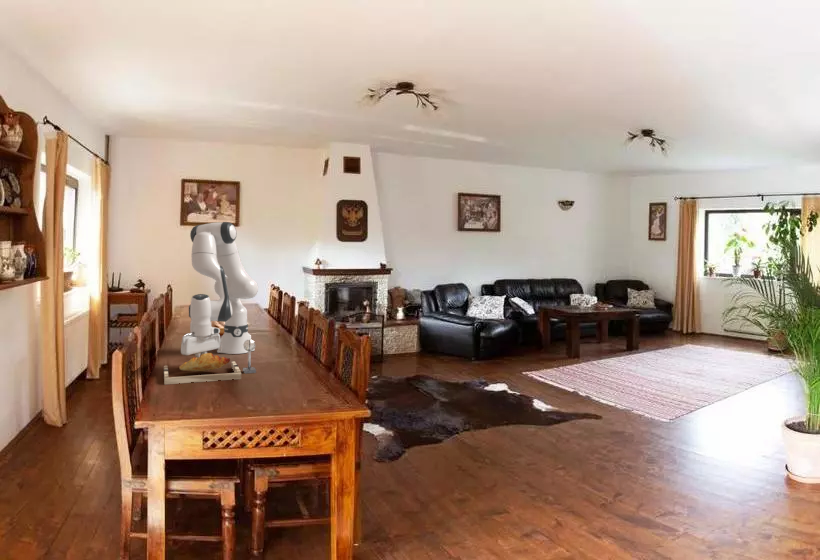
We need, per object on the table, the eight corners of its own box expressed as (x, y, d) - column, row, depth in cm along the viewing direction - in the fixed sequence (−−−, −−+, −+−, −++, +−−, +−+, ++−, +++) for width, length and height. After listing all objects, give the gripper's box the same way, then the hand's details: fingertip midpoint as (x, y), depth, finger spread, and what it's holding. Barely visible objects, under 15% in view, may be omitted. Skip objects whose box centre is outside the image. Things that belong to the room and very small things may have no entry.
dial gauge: (242, 371, 260) (242, 339, 259) (254, 370, 262) (254, 338, 261) (244, 373, 255) (244, 341, 254) (255, 372, 257) (256, 340, 256)
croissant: (178, 376, 246) (176, 358, 246) (181, 373, 255) (179, 355, 255) (230, 369, 252) (228, 351, 251) (231, 366, 261) (229, 349, 261)
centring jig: (163, 372, 254) (163, 364, 253) (235, 367, 266) (235, 360, 265) (164, 384, 233) (164, 376, 233) (241, 378, 245) (241, 370, 245)
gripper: (187, 334, 247) (188, 366, 248) (222, 328, 265) (222, 358, 266) (177, 333, 250) (177, 365, 251) (212, 327, 268) (212, 356, 269)
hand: (201, 361), depth 259 cm, fingers closed
